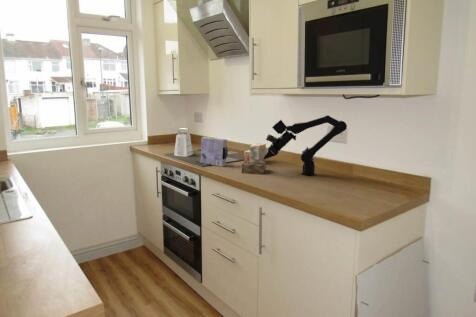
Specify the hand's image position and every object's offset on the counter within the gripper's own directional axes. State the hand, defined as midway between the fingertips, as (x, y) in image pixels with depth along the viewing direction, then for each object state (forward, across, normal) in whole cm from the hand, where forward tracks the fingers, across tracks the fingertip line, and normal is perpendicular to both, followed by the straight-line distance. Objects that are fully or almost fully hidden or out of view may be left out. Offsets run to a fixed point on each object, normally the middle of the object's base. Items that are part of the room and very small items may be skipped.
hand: (264, 157), depth 209 cm
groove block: (+11, 0, +2) cm, 11 cm away
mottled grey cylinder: (+10, 0, +1) cm, 10 cm away
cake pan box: (+31, -12, -19) cm, 38 cm away
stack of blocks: (+14, -25, -1) cm, 29 cm away
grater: (+53, -40, -41) cm, 78 cm away
